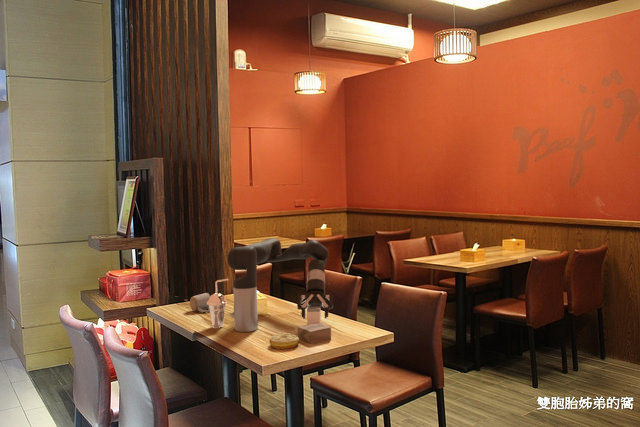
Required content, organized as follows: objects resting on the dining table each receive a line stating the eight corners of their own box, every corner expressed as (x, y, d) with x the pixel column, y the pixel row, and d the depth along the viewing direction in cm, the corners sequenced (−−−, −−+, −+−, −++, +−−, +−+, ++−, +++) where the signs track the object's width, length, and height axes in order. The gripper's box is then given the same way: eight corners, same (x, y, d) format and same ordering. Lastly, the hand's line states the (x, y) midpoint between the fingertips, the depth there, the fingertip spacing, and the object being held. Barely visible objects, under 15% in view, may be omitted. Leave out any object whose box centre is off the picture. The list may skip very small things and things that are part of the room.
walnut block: (297, 338, 216) (297, 326, 216) (317, 334, 221) (316, 322, 221) (311, 343, 209) (310, 331, 208) (331, 339, 214) (330, 327, 214)
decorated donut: (303, 343, 211) (303, 332, 211) (291, 351, 201) (291, 340, 201) (277, 340, 215) (277, 330, 214) (264, 348, 205) (264, 338, 204)
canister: (308, 328, 230) (308, 306, 229) (321, 328, 230) (320, 306, 229) (307, 332, 225) (306, 309, 224) (320, 332, 225) (319, 309, 224)
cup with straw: (217, 323, 242) (215, 276, 241) (233, 325, 237) (232, 277, 236) (203, 328, 235) (201, 279, 234) (220, 330, 230) (218, 281, 229)
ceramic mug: (189, 310, 267) (188, 294, 266) (204, 307, 272) (204, 291, 272) (200, 314, 259) (199, 298, 258) (216, 311, 264) (215, 295, 264)
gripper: (333, 288, 240) (333, 322, 229) (299, 288, 240) (297, 322, 230) (332, 277, 234) (332, 312, 223) (297, 278, 235) (295, 312, 224)
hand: (314, 317), depth 227 cm, fingers open, 8 cm apart
